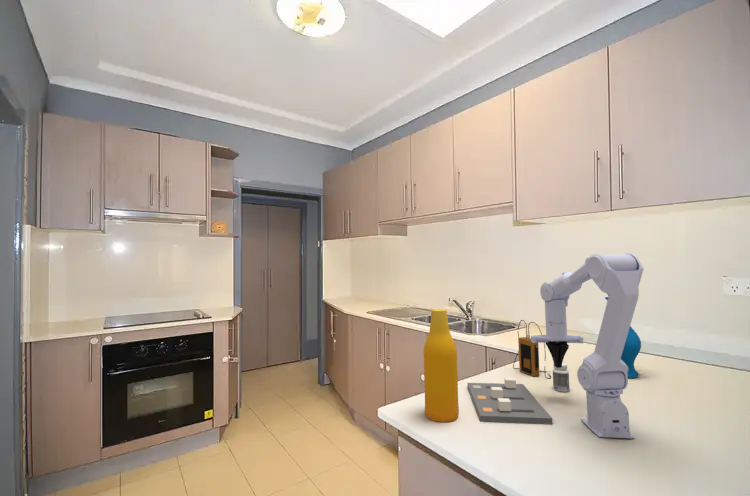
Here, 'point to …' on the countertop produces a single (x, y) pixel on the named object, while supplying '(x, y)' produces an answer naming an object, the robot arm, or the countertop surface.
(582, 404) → the countertop surface
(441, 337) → the beer bottle
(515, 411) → the switch board
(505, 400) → the white block
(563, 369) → the pill bottle
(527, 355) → the multimeter
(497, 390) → the middle tab
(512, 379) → the block
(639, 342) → the vase
